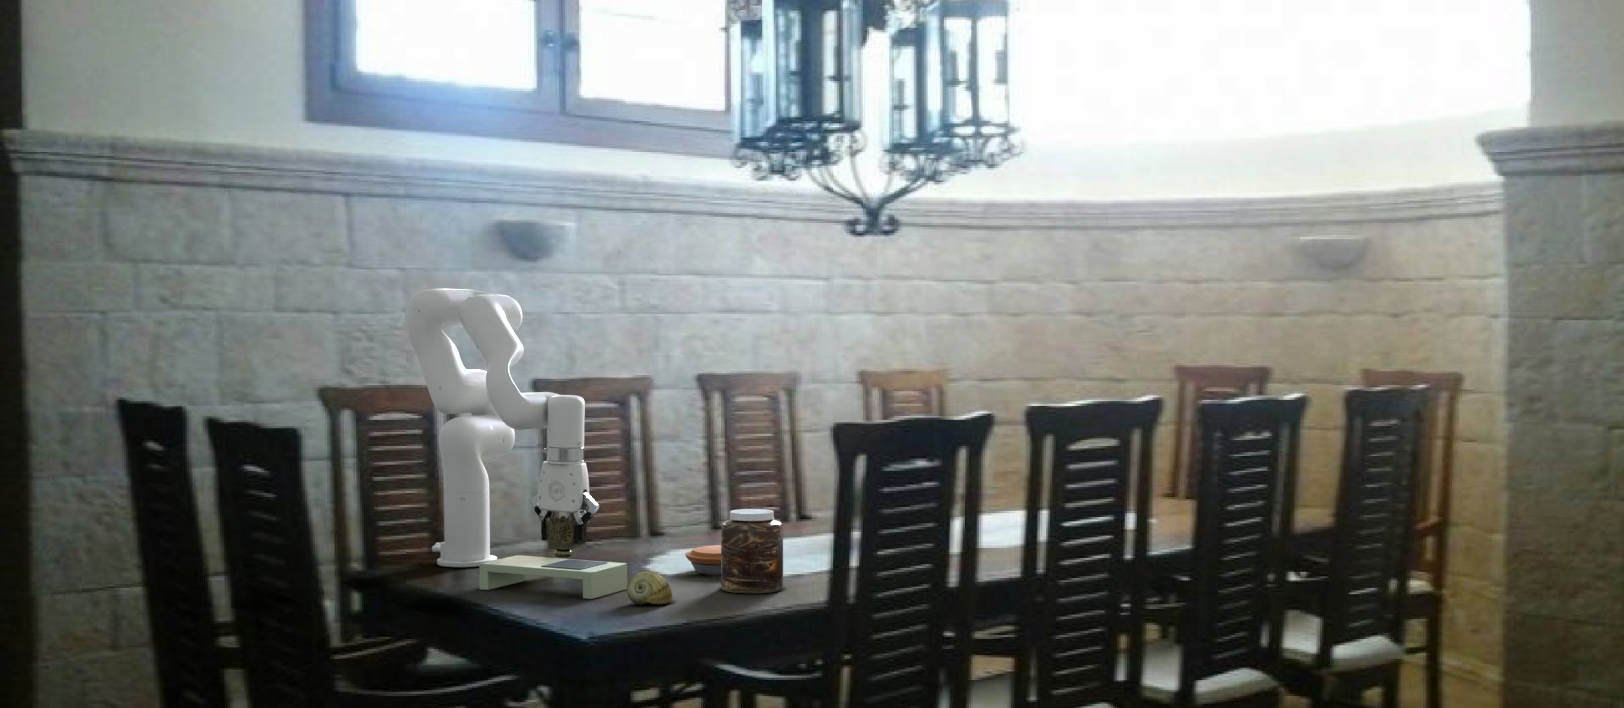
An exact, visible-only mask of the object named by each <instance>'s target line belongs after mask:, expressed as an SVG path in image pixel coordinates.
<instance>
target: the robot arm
mask: <svg viewBox="0 0 1624 708" xmlns="http://www.w3.org/2000/svg"><path fill="white" fill-rule="evenodd" d="M523 316H524V315H523V311H522V308H521V305H520V304H519V303H518V302H517V300H516V299H514V298H513V297H512V296H509V295H505V294H499V293H493V292H487V291H482V290H476V289H467V288H466V289H465V288H463V289H461V288H438V287H437V288H426V289H422V290H420V291H418V292H416V293H415V294H413V295H412V296H411V297H410V299H409V300H408V301H407V304H406V307H405V310H404V328H405V333H406V334H407V338H408V340H409V343H410V344H411V347H412V348H413V350H414V353H415V354H416V357H417V360H418V362H419V364H420V369H421V371H422V372H421V373H422V375H423V377H424V381H425V383H426V387H427V390H428V393H429V396H430V399H431V401H432V404H433V406H434V407H435V409H436V410H437V411H438V412H439V413H442V414H447V415H459V414H471V415H465V416H464V415H463V416H456V417H453V418H452V419H451V418H450V419H449V420H448V421H446V422H445V423H444V424H443V425H442V426H441V428H440V430H439V434H438V447H439V452H440V457H441V463H442V472H443V473H442V474H443V520H444V521H443V523H444V525H443V529H444V530H443V531H444V533H443V535H444V537H443V538H444V541H441V542H436V543H434V545H432V547H431V551H432V552H433V553H440V556H439V557H438V558H437V559H436V565H438V566H439V567H444V568H445V567H446V568H477V567H479V564H480V563H484V562H489V561H493V560H498V556H496V555H494V554H491V539H490V538H491V527H490V526H491V525H490V524H491V522H490V521H491V519H490V518H491V517H490V515H491V512H490V505H491V504H490V501H491V499H490V479H489V474H488V471H487V470H486V467H485V465H484V462H483V460H489V459H497V458H502V457H505V456H506V455H508V454H509V453H510V452H511V451H512V450H513V448H514V446H515V441H516V433H515V430H517V431H522V430H523V431H524V430H534V429H536V430H537V429H547V430H546V448H545V447H544V448H543V449H542V454H543V455H545V456H546V460H544V461H542V465H541V469H540V474H539V479H538V490H537V492H536V493H537V494H535V495H534V496H532V497H531V498H530V499H529V502H530V504H531V506H532V508H533V509H534V513H535V514H536V516H537V517H538V520H539V521H541V524H540V535H541V538H540V539H541V541H548V538H547V529H546V518H549V519H550V517H552V518H553V515H554V513H555V512H560V513H572V515H573V517H574V520H575V519H576V521H577V524H576V525H575V527H574V543H575V544H577V545H580V544H584V543H586V541H587V530H588V525H587V524H589V523H590V521H591V520H592V519H593V518H594V516H595V514H597V512H598V511H599V509H600V504H599V503H598V502H597V501H596V500H595V499H594V498H593V497H592V496H591V495H590V480H589V472H588V466H587V463H586V462H585V423H586V421H585V420H586V419H585V418H586V417H585V416H586V415H585V414H586V402H585V400H584V398H583V397H582V396H580V395H574V394H559V393H555V392H551V391H540V392H539V391H537V392H533V391H532V392H521V391H520V390H519V388H518V387H517V385H516V384H515V382H514V380H513V378H512V376H511V373H510V369H511V368H512V367H514V366H515V365H516V364H517V363H518V362H519V361H520V360H521V358H522V357H523V356H524V352H525V349H524V346H523V344H522V342H521V340H520V339H519V337H518V336H517V334H516V333H515V332H517V331H518V330H519V328H520V327H521V326H522V323H523ZM443 328H449V329H451V328H452V329H453V328H454V329H455V328H459V329H461V328H463V329H464V330H465V332H466V334H467V335H468V337H469V338H470V340H471V341H472V343H473V345H474V346H475V348H476V350H477V352H478V353H479V355H480V356H481V358H482V360H483V361H484V363H485V365H486V367H487V369H486V370H483V369H468V368H465V366H464V364H463V361H462V359H461V356H460V353H459V350H458V349H457V346H456V345H455V343H454V342H453V340H452V339H451V338H450V337H449V336H448V335H447V334H446V333H445V332H444V330H443Z"/></svg>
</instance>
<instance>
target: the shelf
mask: <svg viewBox="0 0 1624 708" xmlns="http://www.w3.org/2000/svg"><path fill="white" fill-rule="evenodd" d="M478 567H479V573H478V574H479V575H478V577H479V590H483V591H484V590H485V591H489V590H493V589H497V588H502V587H505V586H509V585H513V584H517V583H522V582H526V576H536V577H548V578H557V579H558V578H560V579H571V580H582V599H587V600H593V599H597V598H600V597H604V596H607V595H611V594H614V593H618V592H622V591H625V590H627V585H628V563H627V562H615V561H602V560H600V561H599V560H586V559H575V558H574V559H573V558H558V557H547V556H533V555H522V554H521V555H520V554H519V555H518V554H516V555H511V556H508V557H503V558H497V560H493V561H489V562H484V563H480V564H479V566H478Z"/></svg>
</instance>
